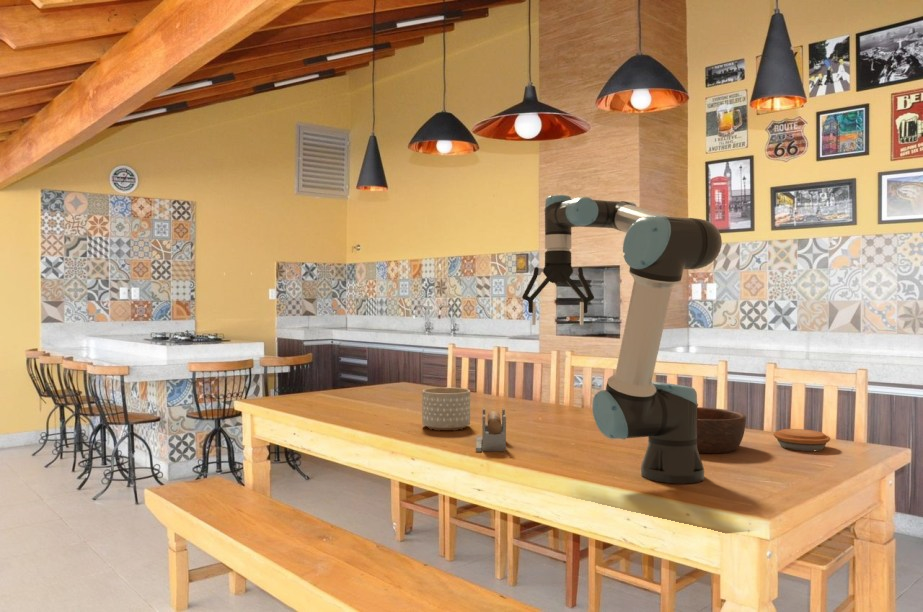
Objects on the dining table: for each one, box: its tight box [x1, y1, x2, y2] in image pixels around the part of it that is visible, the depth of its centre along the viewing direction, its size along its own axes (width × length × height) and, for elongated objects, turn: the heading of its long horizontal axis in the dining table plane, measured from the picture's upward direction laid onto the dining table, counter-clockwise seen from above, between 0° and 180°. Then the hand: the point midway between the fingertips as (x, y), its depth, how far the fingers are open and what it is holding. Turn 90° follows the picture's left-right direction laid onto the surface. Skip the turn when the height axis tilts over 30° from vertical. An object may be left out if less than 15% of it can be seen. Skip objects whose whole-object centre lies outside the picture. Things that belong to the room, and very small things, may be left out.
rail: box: [487, 410, 502, 435], centre depth 217 cm, size 19×4×4 cm
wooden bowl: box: [697, 406, 747, 454], centre depth 216 cm, size 25×25×10 cm
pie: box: [772, 428, 831, 452], centre depth 216 cm, size 15×16×5 cm
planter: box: [421, 387, 471, 431], centre depth 247 cm, size 16×16×13 cm
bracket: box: [475, 407, 507, 453], centre depth 217 cm, size 19×9×10 cm, turn 178°
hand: (557, 324), depth 206 cm, fingers open, 13 cm apart
